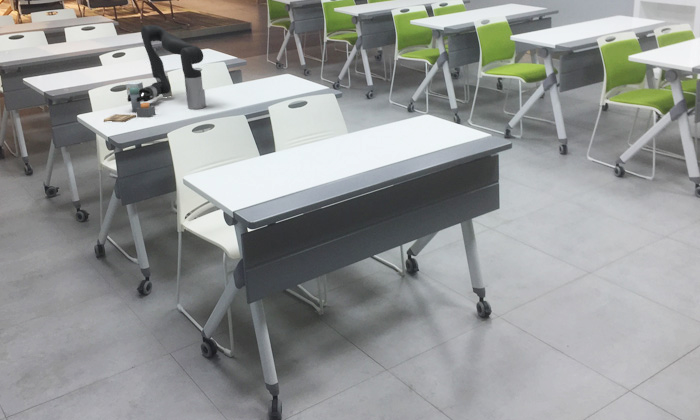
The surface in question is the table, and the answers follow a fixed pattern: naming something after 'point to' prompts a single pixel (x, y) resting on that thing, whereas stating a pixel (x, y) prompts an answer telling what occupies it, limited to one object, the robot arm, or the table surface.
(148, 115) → the button housing
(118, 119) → the kraft pad
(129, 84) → the small box
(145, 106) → the button
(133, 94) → the marker
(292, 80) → the table surface
